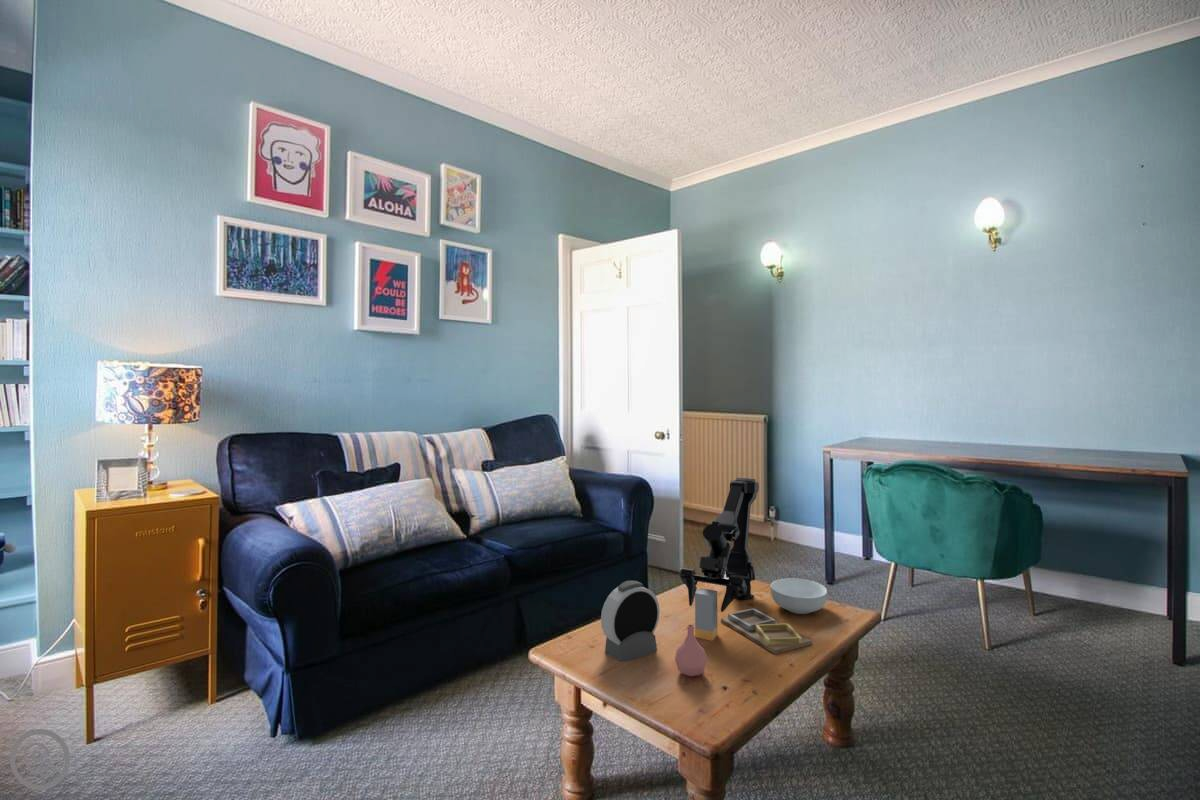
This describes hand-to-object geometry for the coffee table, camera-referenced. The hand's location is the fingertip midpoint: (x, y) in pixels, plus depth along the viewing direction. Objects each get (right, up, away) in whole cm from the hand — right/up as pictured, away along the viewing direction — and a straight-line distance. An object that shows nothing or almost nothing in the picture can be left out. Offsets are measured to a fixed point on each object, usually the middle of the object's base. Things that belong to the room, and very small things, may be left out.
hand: (705, 608), depth 163 cm
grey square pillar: (0, -8, +1) cm, 8 cm away
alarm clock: (-21, -9, -7) cm, 24 cm away
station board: (+17, -8, +2) cm, 19 cm away
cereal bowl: (+33, -7, +19) cm, 38 cm away
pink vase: (-7, -9, -21) cm, 24 cm away
